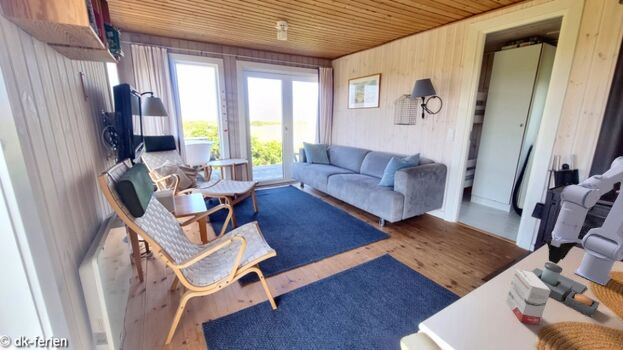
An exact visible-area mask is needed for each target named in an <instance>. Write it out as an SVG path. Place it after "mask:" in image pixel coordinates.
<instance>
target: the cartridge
mask: <svg viewBox="0 0 623 350" xmlns="http://www.w3.org/2000/svg"><path fill="white" fill-rule="evenodd" d="M562 272H563V268H562V266H560V265H558V264H555V263H553V262H550V261H549V262H545V263H544V268H543V273H542V276H541V279H540V280H541V281H543V282H545V283H547V284H549V285H552V286H554V287H555V286H556V283H557V281H558V278H559V275H561V273H562Z"/></svg>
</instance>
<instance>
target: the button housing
mask: <svg viewBox="0 0 623 350" xmlns="http://www.w3.org/2000/svg"><path fill="white" fill-rule="evenodd" d="M575 294H581V293H578V292H576V291H574V290H573V291H572V290H571V291H570V292H569V293H568V294H567V295H566V296H565V297H566V298H565V300H564V305H567V306H569V307H571V308H572V309H574V310H576V311H578V312H581V313H583V314H584V315H586V316H588V317H590V318H591V317H592V316H593V315H594V313H595V312H596V311H597V309H598V308H599V306H600V302H599V301H597V300H595V299H592V298H590V297H588V296H587V297H588V298H590V299H591V300H592V301H593V302H592V304H591V307H589V306H587V305H585V304H583V303H581V302H579V301H577V300H575V299H574V296H575Z"/></svg>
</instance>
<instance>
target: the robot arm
mask: <svg viewBox="0 0 623 350" xmlns="http://www.w3.org/2000/svg"><path fill="white" fill-rule="evenodd" d="M619 182H620V183H621V184H622V186H623V156H619V157H616V158H615V159H614V160H613V161H612V163H611V165H610V168H609V169H608V170H607V171H605V172H604V173H603V174H595V175H592V176H591V177H588V178H586V179H585V180H583V181H582V182H580V183H578V184H571V185H567V186H565V187H564V188H563V190H562V192H560V204H559V205H560V206H561V207H560V211H559V213H558V216H557V218H556V219H557V220H556V223H555V225H554V228H553V230H552V232H551V237H552V239H551V238H548V239H546V245H547V248H548V261H549V263H553V264H556V265H558V264H559V262H560V261H561V260H564V259H565V258H566V257H567V255H568V254H569V252H570V251H571V250H572V249H573V248H574V247H575V246H576V245H578V244H581V245H582V247H583V248H584V249H583V251H584V252H585V253H584V255H583V258H582V261H581V262H580V266H579V267H578V268H577V269H576V270H574V271H573V273H574V274H576V275H578V276H580V277H582V278H585V279H587V280H589V281H592V282H594V283H596V284H599V285H601V286H603V285H604V286H606V285H607V283H608V282H609V281H610V280H611V279H612V276H610V273H611V271H612V269H613V266H614V264H615V262H621V261H622V260H623V187H622V188H621V190H620V192H619V193H618V195H617V198H616V199H615V201H614V203H613V205H612V207H611V209H610V211H609V213H608V215H607V217H606V218H605V221H604V222H603V224H602V225H601V227H596V228H591V229H590V230H588V232H587V233H586V234H585V235H584V236H583V238H582V239H580V238H578V237H579V236H580V233H581V230H582V227H583V225H584V223H585V219H586V216H587V214H588V212H589V209H590V208H592V207H594V206H595V205H596V203H597V202H598V201H599V200H600V198H601V197H602V196H603V195H605V194H607V193H608V192H610V191H612V190H613V189H614V185H615V184H617V183H619ZM604 286H603V287H604Z"/></svg>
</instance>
